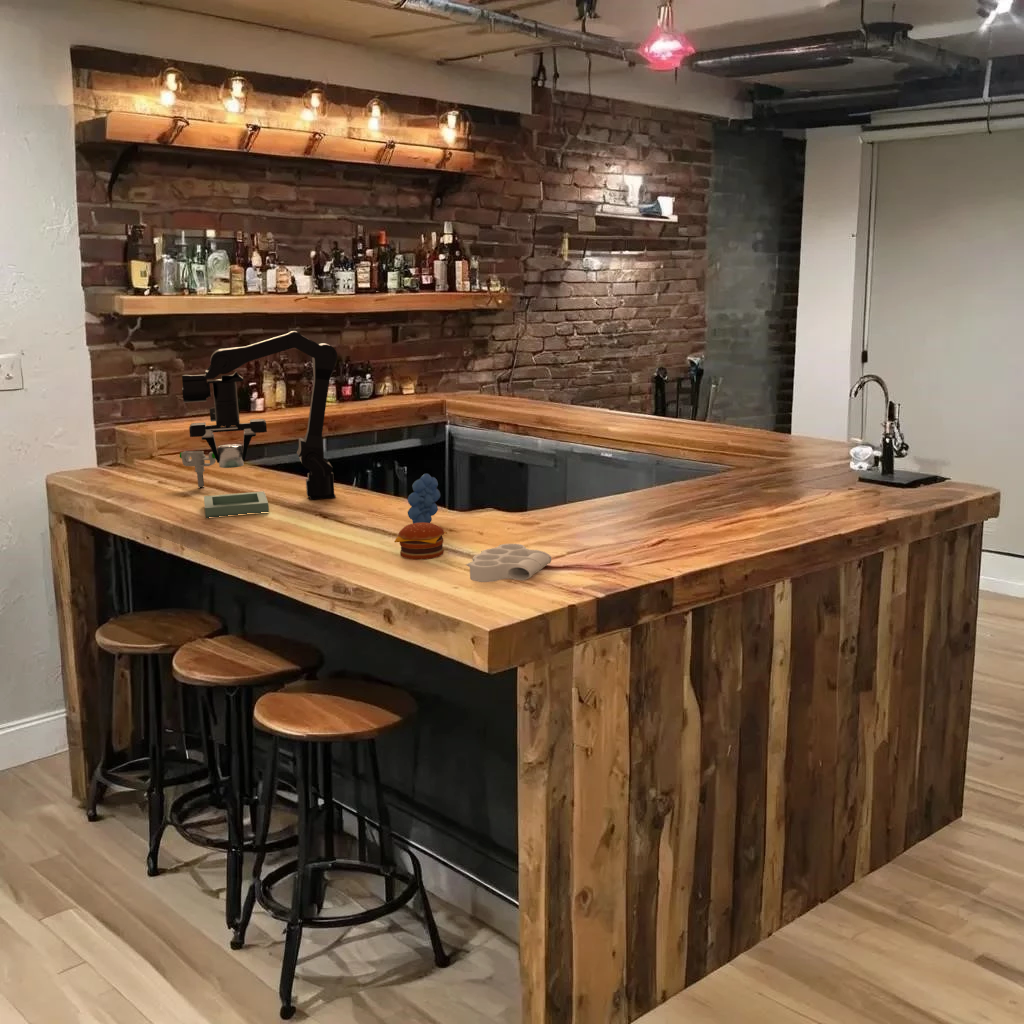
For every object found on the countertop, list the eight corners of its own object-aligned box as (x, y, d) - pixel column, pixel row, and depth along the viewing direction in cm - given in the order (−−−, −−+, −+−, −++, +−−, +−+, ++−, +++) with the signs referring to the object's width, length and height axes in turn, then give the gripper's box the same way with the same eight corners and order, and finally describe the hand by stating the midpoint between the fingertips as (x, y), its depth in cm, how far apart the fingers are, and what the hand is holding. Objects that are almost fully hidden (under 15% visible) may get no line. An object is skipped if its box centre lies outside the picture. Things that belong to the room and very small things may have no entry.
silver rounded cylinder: (243, 462, 289) (241, 443, 288) (243, 466, 284) (242, 447, 283) (219, 464, 288) (217, 445, 287) (219, 468, 282) (217, 448, 281)
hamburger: (394, 560, 230) (392, 528, 229) (407, 548, 239) (405, 518, 238) (438, 561, 228) (437, 529, 227) (450, 549, 238) (449, 518, 236)
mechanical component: (216, 489, 308) (212, 452, 306) (181, 488, 310) (178, 452, 308) (220, 486, 311) (217, 450, 308) (186, 486, 313) (183, 450, 310)
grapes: (423, 518, 265) (421, 468, 263) (447, 521, 262) (445, 470, 259) (395, 529, 255) (392, 477, 253) (419, 532, 252) (417, 480, 250)
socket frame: (264, 501, 290) (264, 491, 290) (269, 513, 276) (268, 502, 276) (204, 506, 286) (203, 496, 286) (205, 518, 272) (204, 508, 272)
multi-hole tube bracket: (523, 587, 210) (452, 581, 215) (557, 562, 226) (490, 557, 231) (523, 570, 209) (451, 564, 214) (557, 546, 225) (489, 541, 231)
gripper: (262, 394, 292) (267, 453, 295) (188, 398, 288) (193, 459, 291) (264, 399, 281) (269, 461, 285) (186, 403, 277) (192, 466, 281)
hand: (231, 461), depth 286 cm, fingers closed on silver rounded cylinder, 6 cm apart
